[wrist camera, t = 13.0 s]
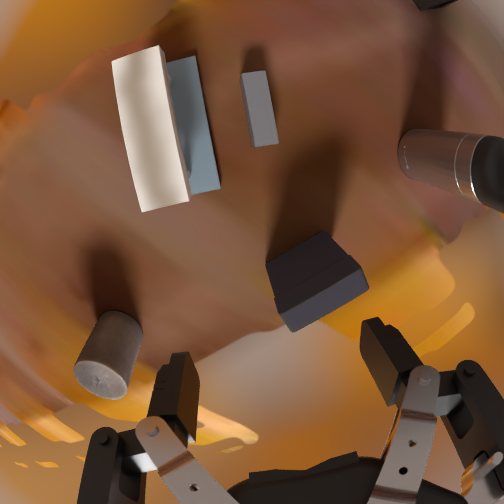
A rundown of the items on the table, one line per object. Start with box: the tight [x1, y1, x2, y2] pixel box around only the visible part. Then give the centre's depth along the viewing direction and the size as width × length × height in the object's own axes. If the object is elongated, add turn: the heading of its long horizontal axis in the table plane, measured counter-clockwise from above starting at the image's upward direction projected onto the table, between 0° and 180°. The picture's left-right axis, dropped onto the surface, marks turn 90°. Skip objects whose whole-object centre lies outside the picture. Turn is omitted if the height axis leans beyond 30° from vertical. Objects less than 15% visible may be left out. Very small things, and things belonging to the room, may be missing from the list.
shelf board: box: [112, 45, 192, 212], centre depth 27 cm, size 6×18×3 cm, turn 10°
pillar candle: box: [74, 311, 143, 400], centre depth 42 cm, size 10×10×15 cm
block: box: [240, 71, 279, 147], centre depth 34 cm, size 3×10×5 cm, turn 10°
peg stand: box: [166, 56, 221, 195], centre depth 32 cm, size 12×20×8 cm, turn 10°
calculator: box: [265, 231, 369, 332], centre depth 38 cm, size 11×4×15 cm, turn 120°
